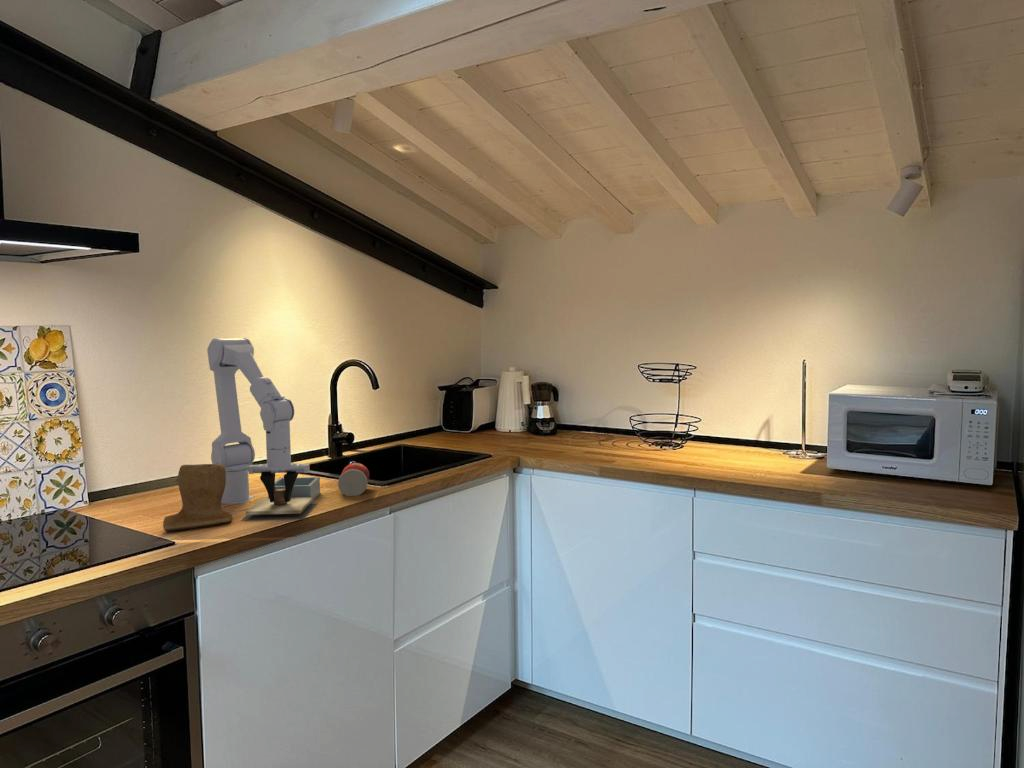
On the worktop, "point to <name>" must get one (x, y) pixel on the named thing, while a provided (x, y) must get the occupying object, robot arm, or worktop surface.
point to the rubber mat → (281, 515)
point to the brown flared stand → (199, 497)
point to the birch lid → (279, 504)
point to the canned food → (353, 479)
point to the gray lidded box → (302, 487)
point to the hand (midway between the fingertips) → (280, 501)
